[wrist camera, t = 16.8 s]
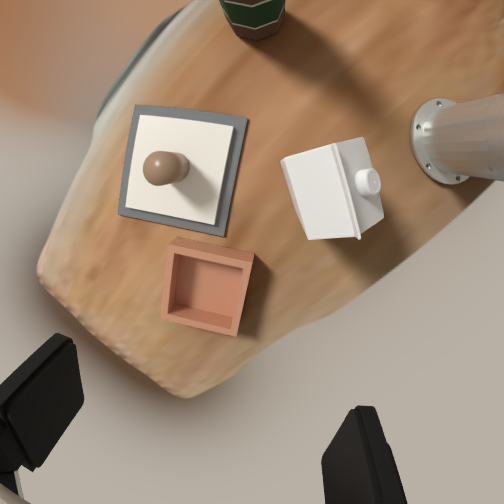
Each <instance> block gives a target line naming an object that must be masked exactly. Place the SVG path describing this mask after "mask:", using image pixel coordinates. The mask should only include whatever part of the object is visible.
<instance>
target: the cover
mask: <svg viewBox="0 0 504 504" xmlns="http://www.w3.org/2000/svg"><path fill="white" fill-rule="evenodd" d="M233 129H234V127H233V126H228V125H221V124H215V123H208V122H201V121H194V120H186V119H178V118H169V117H159V116H148V115H140V118H139V123H138V128H137V133H136V138H135V144H134V150H133V156H132V162H131V168H130V175H129V182H128V190H127V198H126V206H125V207H128V208H133V209H138V210H143V211H148V212H153V213H158V214H163V215H168V216H173V217H178V218H183V219H188V220H193V221H198V222H203V223H207V224H212V225H214V224H215V221H216V216H217V210H218V205H219V199H220V194H221V189H222V184H223V179H224V173H225V168H226V163H227V158H228V153H229V149H230V144H231V139H232V134H233Z"/></svg>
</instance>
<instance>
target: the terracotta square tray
mask: <svg viewBox="0 0 504 504" xmlns="http://www.w3.org/2000/svg"><path fill="white" fill-rule="evenodd" d="M253 258H254V253H250V252H245V251H241V250H236V249H231V248H227V247H222V246H218V245H213V244H208V243H204V242H199V241H195V240H190V239H185V238H181V237H176V238H175V239H174V240H172V241H171V242H170V243H168V247H167V255H166V263H165V273H164V282H163V292H162V304H161V316H160V318H162V319H166V320H169V321H173V322H177V323H181V324H185V325H189V326H193V327H197V328H201V329H205V330H209V331H213V332H218V333H222V334H226V335H231V336H235V337H236V336H237V332H238V327H239V323H240V318H241V313H242V309H243V304H244V300H245V295H246V290H247V286H248V281H249V277H250V272H251V267H252V263H253Z"/></svg>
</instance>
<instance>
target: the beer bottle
mask: <svg viewBox="0 0 504 504" xmlns="http://www.w3.org/2000/svg"><path fill="white" fill-rule="evenodd" d="M219 1H220V4H221V6H222V9H223V12H224V14H225V17H226V19H227V21H228V22H229V24H230V26H231V27H232V29H233V30H234V32H235V34H236V35H237V36H240V37H244V38H248V39H252V40H256V41H258V40H261V39H263V38H266V37H268V36H271V35H273V34H276V33H277V32H278V29H279V27H280V24H281V22H282V20H283V17H284V12H285V0H219Z"/></svg>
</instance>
